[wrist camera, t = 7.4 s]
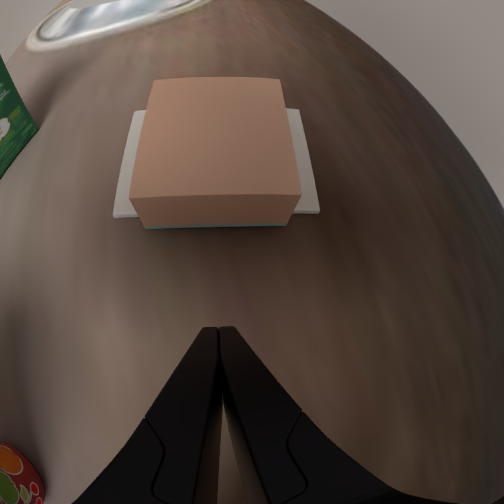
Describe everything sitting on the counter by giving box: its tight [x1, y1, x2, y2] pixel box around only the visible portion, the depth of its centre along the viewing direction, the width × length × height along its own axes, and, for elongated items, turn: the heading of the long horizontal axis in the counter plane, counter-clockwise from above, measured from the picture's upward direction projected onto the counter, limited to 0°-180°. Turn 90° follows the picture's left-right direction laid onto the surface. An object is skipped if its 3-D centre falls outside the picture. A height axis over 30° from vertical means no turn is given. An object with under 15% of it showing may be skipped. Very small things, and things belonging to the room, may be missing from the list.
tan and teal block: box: [129, 77, 302, 229], centre depth 18 cm, size 4×9×10 cm
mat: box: [113, 108, 320, 218], centre depth 20 cm, size 10×14×1 cm
